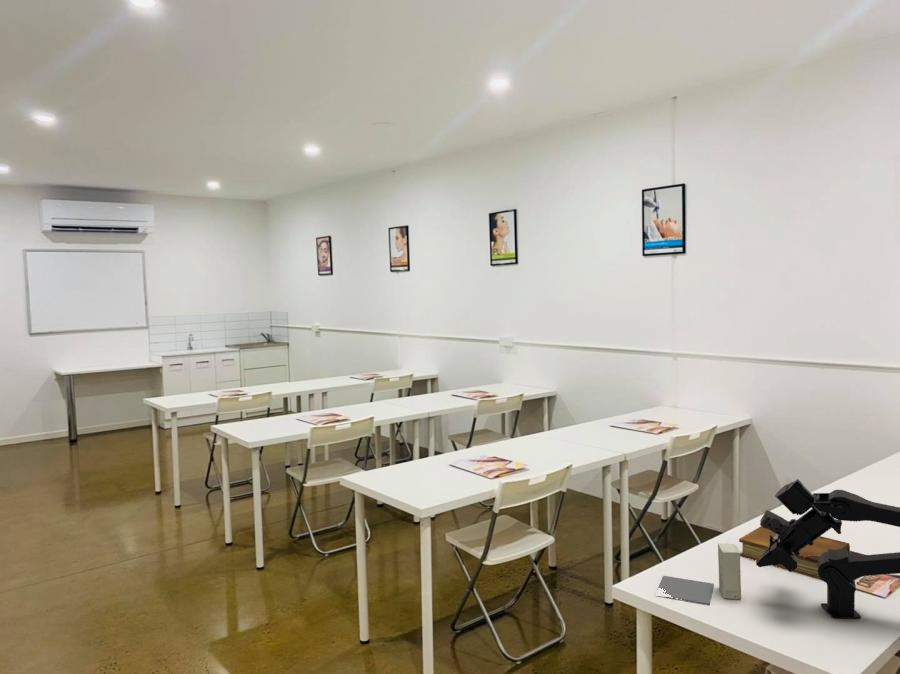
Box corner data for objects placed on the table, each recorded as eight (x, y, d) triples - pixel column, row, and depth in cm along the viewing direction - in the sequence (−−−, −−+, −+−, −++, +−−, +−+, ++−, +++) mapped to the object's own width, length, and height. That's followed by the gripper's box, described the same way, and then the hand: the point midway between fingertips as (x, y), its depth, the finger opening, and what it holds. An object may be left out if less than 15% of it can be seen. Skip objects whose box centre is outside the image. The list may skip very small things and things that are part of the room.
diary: (849, 562, 187) (850, 542, 186) (824, 582, 175) (824, 561, 174) (767, 539, 204) (767, 521, 204) (739, 557, 192) (739, 538, 192)
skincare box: (741, 599, 166) (741, 553, 165) (722, 598, 167) (722, 552, 166) (735, 588, 172) (735, 543, 171) (717, 587, 173) (717, 542, 172)
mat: (713, 585, 174) (713, 583, 174) (709, 605, 163) (709, 603, 163) (663, 576, 180) (663, 575, 180) (655, 595, 169) (655, 594, 169)
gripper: (781, 491, 170) (735, 527, 176) (781, 515, 154) (730, 553, 159) (816, 525, 167) (767, 560, 173) (819, 553, 151) (766, 590, 156)
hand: (757, 565), depth 166 cm, fingers closed
